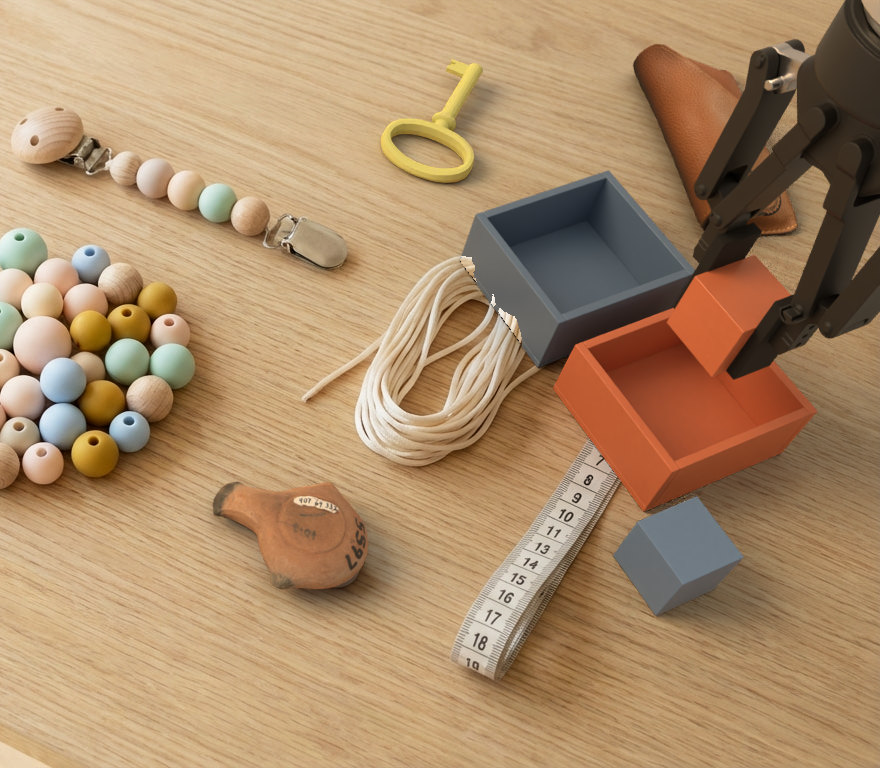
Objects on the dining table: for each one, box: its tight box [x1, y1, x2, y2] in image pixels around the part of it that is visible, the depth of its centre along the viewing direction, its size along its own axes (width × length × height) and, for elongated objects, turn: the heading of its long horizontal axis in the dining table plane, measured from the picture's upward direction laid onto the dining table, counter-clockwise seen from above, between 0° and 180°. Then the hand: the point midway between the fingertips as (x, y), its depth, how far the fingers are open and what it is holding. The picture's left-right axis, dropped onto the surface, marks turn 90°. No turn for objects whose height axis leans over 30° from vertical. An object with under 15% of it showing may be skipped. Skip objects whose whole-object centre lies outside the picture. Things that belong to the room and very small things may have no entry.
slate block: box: [612, 496, 745, 617], centre depth 72 cm, size 4×4×4 cm
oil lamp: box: [212, 481, 369, 590], centre depth 73 cm, size 9×4×8 cm
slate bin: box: [460, 170, 696, 368], centre depth 85 cm, size 11×10×5 cm
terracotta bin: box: [552, 308, 818, 512], centre depth 79 cm, size 11×10×5 cm
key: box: [380, 58, 484, 184], centre depth 95 cm, size 7×12×2 cm, turn 169°
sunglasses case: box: [632, 43, 799, 237], centre depth 94 cm, size 18×7×7 cm
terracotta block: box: [667, 254, 792, 377], centre depth 71 cm, size 4×4×4 cm
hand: (720, 335), depth 73 cm, fingers closed on terracotta block, 4 cm apart
